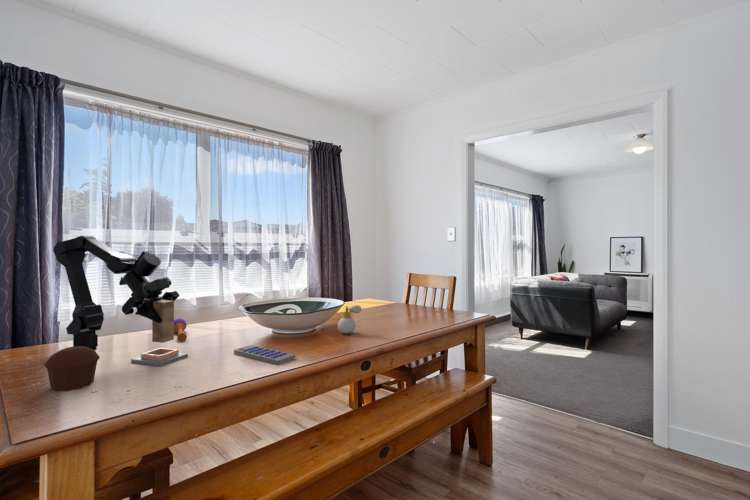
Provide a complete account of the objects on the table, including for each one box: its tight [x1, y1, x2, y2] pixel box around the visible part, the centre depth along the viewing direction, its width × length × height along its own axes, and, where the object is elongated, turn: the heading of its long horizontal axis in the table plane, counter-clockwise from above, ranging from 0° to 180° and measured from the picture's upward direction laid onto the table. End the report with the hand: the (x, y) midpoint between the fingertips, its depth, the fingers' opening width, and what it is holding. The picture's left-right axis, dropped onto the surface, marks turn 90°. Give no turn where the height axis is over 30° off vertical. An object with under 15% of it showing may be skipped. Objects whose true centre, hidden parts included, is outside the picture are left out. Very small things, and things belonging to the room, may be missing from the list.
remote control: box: [233, 345, 296, 366], centre depth 132 cm, size 8×23×2 cm, turn 58°
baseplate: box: [130, 347, 189, 367], centre depth 127 cm, size 12×11×2 cm
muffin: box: [44, 346, 101, 392], centre depth 103 cm, size 12×11×10 cm
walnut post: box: [151, 300, 175, 343], centre depth 128 cm, size 4×4×13 cm
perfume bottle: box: [337, 304, 362, 335], centre depth 167 cm, size 8×10×12 cm
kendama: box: [174, 318, 188, 342], centre depth 159 cm, size 6×6×20 cm
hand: (166, 320), depth 127 cm, fingers closed on walnut post, 4 cm apart
